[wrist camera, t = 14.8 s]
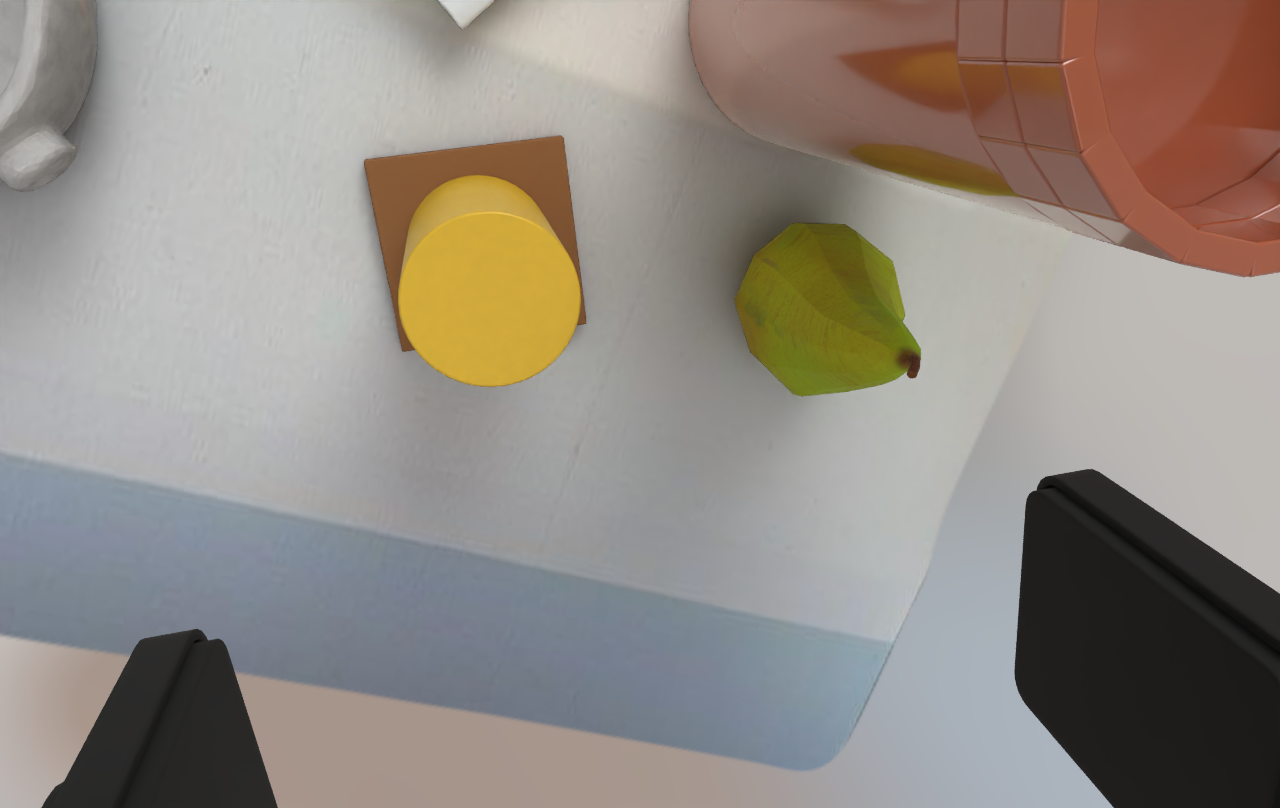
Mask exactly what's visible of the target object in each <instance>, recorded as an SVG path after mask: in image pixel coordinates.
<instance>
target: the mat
mask: <svg viewBox="0 0 1280 808" xmlns="http://www.w3.org/2000/svg"><path fill="white" fill-rule="evenodd" d="M364 166H365V170H366V175H367V180H368V185H369V190H370V195H371V200H372V205H373V210H374V215H375V220H376V225H377V229H378V234H379V239H380V244H381V249H382V254H383V259H384V264H385V269H386V274H387V279H388V284H389V288H390V293H391V298H392V303H393V308H394V313H395V318H396V323H397V328H398V333H399V338H400V343H401V347H402V351H403V352H405V351H411V350H415V349H414V347H413V346H412V344H411V342H410V341H409V339H408V337H407V335H406V333H405V331H404V328H403V326H402V322H401V318H400V314H399V307H398V289H399V283H400V276H401V270H402V265H403V259H404V253H405V247H406V241H407V235H408V229H409V226H410V222H411V220H412V217H413V215H414V213H415V211H416V210H417V208H418V206H419V205H420V203H421V202H422V201H423V200H424V199H425V197H426V196H427V195H429V194H430V193H431V192H432V191H433V190H434V189H436V188H437V187H439V186H440V185H442V184H444V183H446V182H448V181H450V180H453V179H456V178H459V177H464V176H472V175H483V176H491V177H496V178H499V179H502V180H505V181H508V182H510V183H512V184H514V185H515V186H517V187H518V188H520V189H521V190H523V191H524V192H525V193H526V194H527V195H529V196H530V197H531V198H532V199H533V201H534V202H535V203H536V204H537V205H538V207H539V208H540V210H541V211H542V213H543V215H544V216H545V218H546V219H547V221H548V223H549V224H550V226H551V228H552V229H553V231H554V232H555V234H556V236H557V237H558V239H559V240H560V242H561V244H562V245H563V247H564V248H565V250H566V252H567V253H568V255H569V257H570V259H571V261H572V263H573V265H574V267H575V270H576V273H577V276H578V280H579V285H580V294H581V304H580V313H579V318H578V323H577V325H582V324H586V315H585V307H584V299H583V291H582V283H581V275H580V267H579V259H578V251H577V243H576V235H575V227H574V219H573V211H572V203H571V195H570V186H569V178H568V170H567V162H566V154H565V146H564V138H563V137H562V136H553V137H545V138H537V139H529V140H521V141H512V142H504V143H496V144H488V145H480V146H471V147H463V148H455V149H447V150H438V151H430V152H422V153H414V154H406V155H397V156H389V157H381V158H373V159H366V160H365V161H364Z"/></svg>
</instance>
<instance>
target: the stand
mask: <svg viewBox="0 0 1280 808" xmlns="http://www.w3.org/2000/svg"><path fill="white" fill-rule="evenodd" d="M689 35H690V43H691V50H692V54H693V58H694V62H695V66H696V68H697V71H698V73H699V76H700V78H701V81H702V83H703V85H704V87H705V89H706V90H707V92H708V94H709V96H710V97H711V99H712V100H713V101H714V103H715V104H716V105H717V107H718V108H719V109H720V110H721V111H722V112H723V113H724V115H725V116H726V117H727V118H728V119H729V120H730V121H732V122H733V123H734V124H736V125H737V126H738V127H739V128H741V129H742V130H744V131H745V132H747V133H749V134H751V135H752V136H754V137H756V138H759V139H761V140H764V141H767V142H769V143H773V144H776V145H780V146H783V147H786V148H790V149H793V150H797V151H800V152H804V153H807V154H810V155H814V156H817V157H821V158H824V159H828V160H831V161H835V162H838V163H841V164H845V165H848V166H852V167H855V168H859V169H862V170H866V171H869V172H872V173H876V174H879V175H883V176H886V177H890V178H893V179H897V180H900V181H903V182H907V183H910V184H914V185H917V186H921V187H924V188H928V189H931V190H934V191H938V192H941V193H945V194H948V195H952V196H955V197H959V198H962V199H965V200H969V201H972V202H976V203H979V204H983V205H986V206H990V207H993V208H996V209H1000V210H1003V211H1007V212H1010V213H1014V214H1017V215H1021V216H1024V217H1027V218H1031V219H1034V220H1038V221H1041V222H1045V223H1048V224H1051V225H1055V226H1058V227H1062V228H1065V229H1067V230H1069V231H1072V232H1073V233H1076V234H1080V235H1083V236H1087V237H1090V238H1093V239H1097V240H1100V241H1104V242H1108V243H1111V244H1114V245H1117V246H1121V247H1125V248H1127V249H1131V250H1134V251H1138V252H1141V253H1145V254H1148V255H1151V256H1155V257H1158V258H1162V259H1165V260H1169V261H1172V262H1175V263H1179V264H1183V265H1187V266H1192V267H1197V268H1202V269H1207V270H1211V271H1216V272H1221V273H1226V274H1231V275H1236V276H1240V277H1254V276H1260V275H1266V274H1273V273H1279V272H1280V0H690V9H689Z"/></svg>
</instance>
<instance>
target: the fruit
mask: <svg viewBox="0 0 1280 808" xmlns="http://www.w3.org/2000/svg"><path fill="white" fill-rule="evenodd" d="M735 306H736V309H737V312H738V315H739V318H740V321H741V325H742V328H743V331H744V334H745V337H746V340H747V344H748V347H749V350H750V352H751V353H752V354H753V355H754V356H755V357H756V358H757V359H758V360H759V361H760V362H761V363H762V364H763V365H764V366H765V367H766V368H767V369H768V370H769V371H770V372H771V373H772V374H773V375H774V376H775V377H776V378H777V379H778V380H779V381H780V382H781V383H783V384H784V385H785V386H786V387H787V388H788V389H789V390H790V391H791V392H792V393H793V394H795V395H799V396H810V395H820V394H830V393H839V392H848V391H852V390H858V389H863V388H868V387H874V386H878V385H882V384H885V383H888V382H890V381H893V380H895V379H897V378H898V377H900V376H901V375H903V374H904V373H905V372H907V376H908V377H909V378H916V376H917V374H918V371H919V368H920V360H921V349H920V347H919V345H918V344H917V342H916V340H915V339H914V337H913V336H912V334H911V333H910V331H909V330H908V328H907V327H906V326H905V324H904V323H903V322H902V321H903V319H904V317H905V312H904V308H903V303H902V299H901V295H900V290H899V286H898V282H897V277H896V273H895V269H894V265H893V262H892V260H890V259H889V258H888V257H887V256H885V255H884V254H883V253H882V252H880V251H879V250H878V249H877V248H876V247H874V246H873V245H872V244H871V243H869V242H868V241H867V240H866V239H864V238H863V237H862V236H861V235H859V234H858V233H857V232H856V231H855V230H853V229H852V228H850V227H848V226H847V225H845V224H820V223H792V224H791V225H790V226H789V227H787V228H786V229H785V230H784V231H783V232H781V233H780V234H779V235H778V236H776V237H775V238H774V239H773V240H772V241H770V242H769V243H768V244H767V245H766V246H764V247H763V248H762V249H761V250H759V251H758V252H757V253H756V254H755V255H754V256H753V258H752V261H751V263H750V265H749V267H748V270H747V272H746V274H745V277H744V279H743V281H742V284H741V286H740V288H739V290H738V293H737V295H736V297H735Z"/></svg>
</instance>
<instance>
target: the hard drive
mask: <svg viewBox="0 0 1280 808" xmlns="http://www.w3.org/2000/svg"><path fill="white" fill-rule="evenodd" d="M437 1H438V2H439V4H440V5H441V6H442V7H443V8H444V10H445V11H446V12H447V13H448V14H449V16H450V17H451V18H452V19H453V21H454V22H455V23H456V24H457V25H458V26H459V27H460V29H461V30H463V29H464V28H466V27H467V26H468V25H469V24H470V23H471V22H472V21H473V20H474V19H475V18H476V17H477V16H479V15H480V14H481V13H482V12H483V11H484V10H485V9H486V8H487V7H488V6H489V5H490V4H492V3H493V2H494V1H495V0H437Z"/></svg>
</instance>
